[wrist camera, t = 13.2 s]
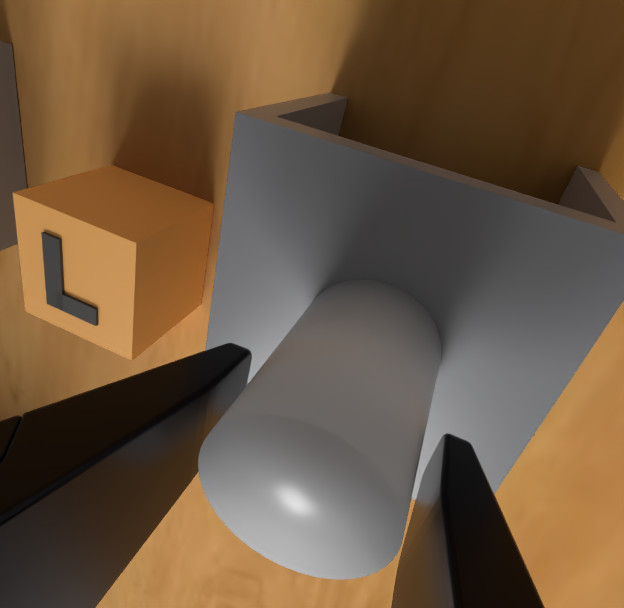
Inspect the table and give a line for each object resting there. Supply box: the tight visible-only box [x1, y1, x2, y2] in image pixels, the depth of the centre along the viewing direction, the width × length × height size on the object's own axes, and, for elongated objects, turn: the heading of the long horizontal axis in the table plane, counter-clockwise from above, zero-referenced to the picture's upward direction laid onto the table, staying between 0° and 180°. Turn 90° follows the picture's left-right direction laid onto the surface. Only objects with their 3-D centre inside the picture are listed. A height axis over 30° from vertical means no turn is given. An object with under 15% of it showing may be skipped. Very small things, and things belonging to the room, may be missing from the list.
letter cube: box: [13, 165, 214, 361], centre depth 15 cm, size 4×4×4 cm
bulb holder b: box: [198, 93, 624, 579], centre depth 10 cm, size 7×7×10 cm
